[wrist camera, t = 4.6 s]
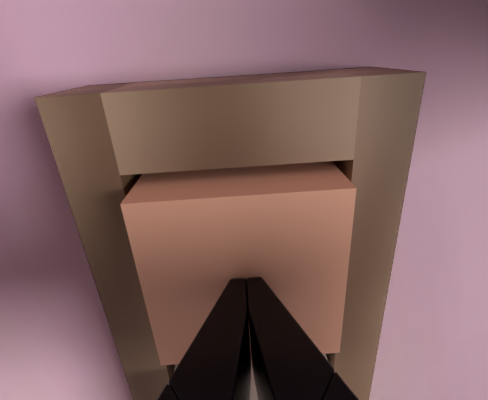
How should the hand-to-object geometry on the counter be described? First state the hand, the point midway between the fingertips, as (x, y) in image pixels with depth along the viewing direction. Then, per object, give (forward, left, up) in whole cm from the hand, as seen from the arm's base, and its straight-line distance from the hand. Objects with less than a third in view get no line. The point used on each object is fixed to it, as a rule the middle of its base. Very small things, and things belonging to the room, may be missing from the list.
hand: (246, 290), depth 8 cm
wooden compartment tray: (0, +7, -4) cm, 8 cm away
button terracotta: (0, 0, -4) cm, 4 cm away
